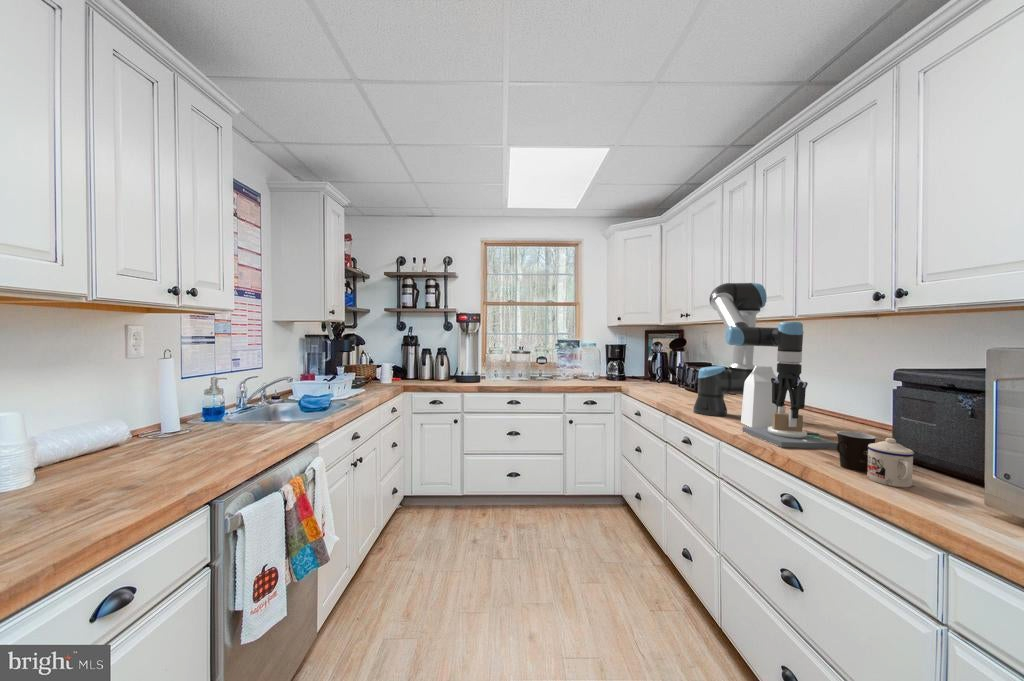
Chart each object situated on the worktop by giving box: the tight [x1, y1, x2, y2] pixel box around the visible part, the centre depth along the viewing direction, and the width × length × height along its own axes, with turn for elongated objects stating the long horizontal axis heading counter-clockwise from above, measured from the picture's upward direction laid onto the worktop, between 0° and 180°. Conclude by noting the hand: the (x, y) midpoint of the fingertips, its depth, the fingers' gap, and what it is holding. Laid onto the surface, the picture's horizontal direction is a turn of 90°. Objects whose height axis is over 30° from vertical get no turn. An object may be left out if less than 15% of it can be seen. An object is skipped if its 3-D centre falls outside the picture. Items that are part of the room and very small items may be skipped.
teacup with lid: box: [866, 437, 915, 488], centre depth 103 cm, size 12×9×12 cm
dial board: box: [742, 426, 838, 449], centre depth 146 cm, size 22×20×2 cm
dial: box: [768, 412, 820, 438], centre depth 145 cm, size 16×12×8 cm
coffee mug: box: [836, 430, 877, 473], centre depth 115 cm, size 12×9×10 cm
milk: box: [740, 365, 777, 427], centre depth 168 cm, size 12×12×26 cm
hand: (786, 425), depth 146 cm, fingers closed on dial, 4 cm apart
